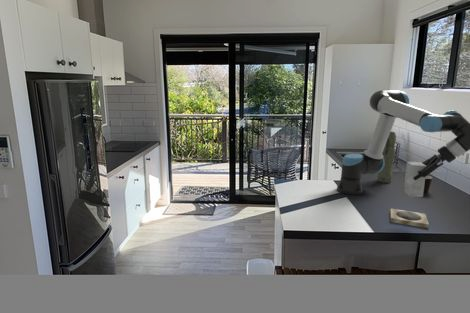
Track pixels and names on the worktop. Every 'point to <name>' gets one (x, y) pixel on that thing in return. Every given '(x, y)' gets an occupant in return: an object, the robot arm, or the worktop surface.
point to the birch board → (409, 218)
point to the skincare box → (418, 186)
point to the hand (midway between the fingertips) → (406, 180)
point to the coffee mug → (427, 184)
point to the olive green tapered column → (388, 159)
